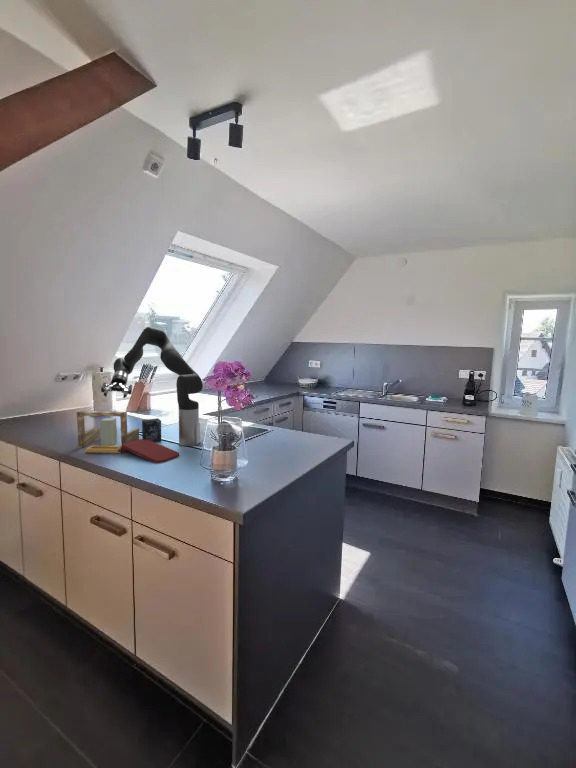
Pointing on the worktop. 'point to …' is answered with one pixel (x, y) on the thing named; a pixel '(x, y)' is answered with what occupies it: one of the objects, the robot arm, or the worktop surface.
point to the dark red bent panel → (149, 450)
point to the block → (108, 432)
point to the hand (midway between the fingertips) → (114, 395)
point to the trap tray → (104, 449)
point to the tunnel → (94, 433)
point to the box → (151, 429)
